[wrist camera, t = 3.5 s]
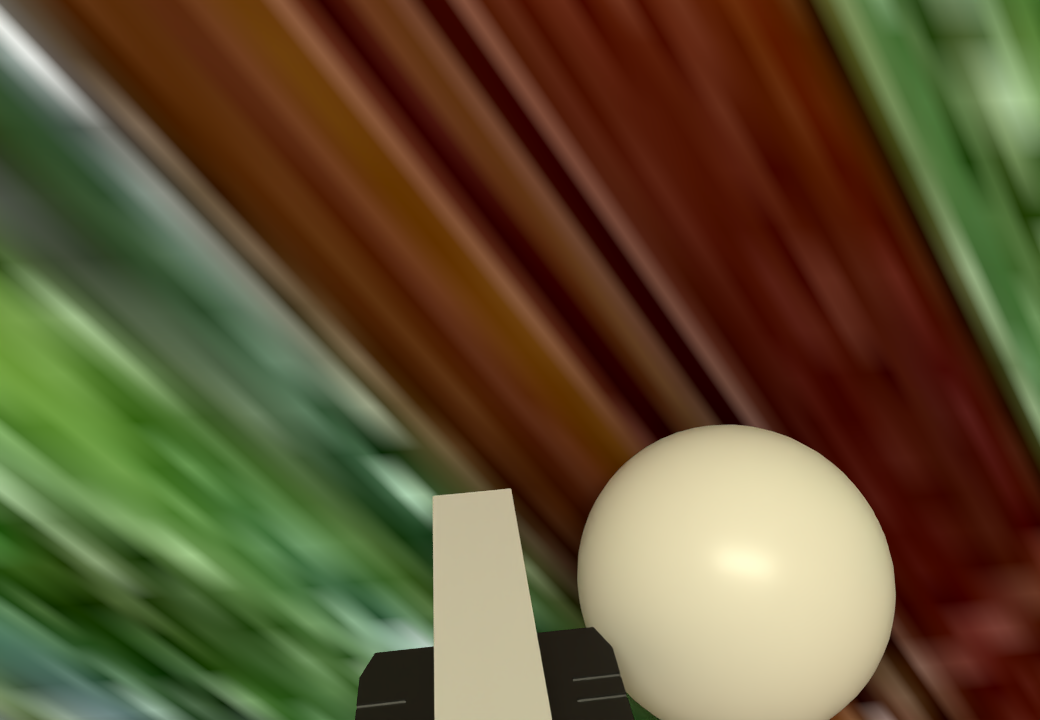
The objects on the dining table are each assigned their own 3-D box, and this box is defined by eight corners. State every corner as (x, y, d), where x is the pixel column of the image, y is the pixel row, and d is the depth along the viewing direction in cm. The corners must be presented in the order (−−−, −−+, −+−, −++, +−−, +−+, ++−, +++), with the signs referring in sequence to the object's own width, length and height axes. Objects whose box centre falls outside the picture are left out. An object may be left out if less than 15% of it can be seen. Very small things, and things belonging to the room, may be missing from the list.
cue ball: (821, 366, 17) (993, 511, 12) (801, 591, 19) (940, 797, 14) (551, 391, 17) (609, 552, 11) (560, 618, 19) (613, 842, 13)
